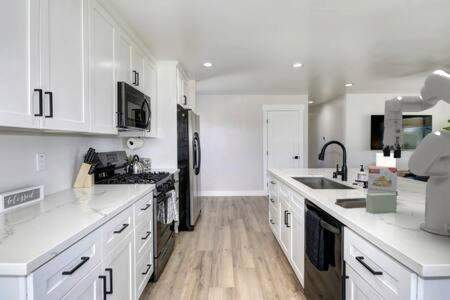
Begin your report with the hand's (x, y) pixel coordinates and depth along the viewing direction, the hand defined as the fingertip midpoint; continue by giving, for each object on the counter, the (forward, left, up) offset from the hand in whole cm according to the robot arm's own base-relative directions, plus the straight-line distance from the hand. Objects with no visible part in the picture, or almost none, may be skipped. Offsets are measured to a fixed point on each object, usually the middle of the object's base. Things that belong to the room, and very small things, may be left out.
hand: (391, 157), depth 129 cm
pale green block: (0, +5, -28) cm, 28 cm away
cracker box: (+17, -10, -28) cm, 34 cm away
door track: (+13, +10, -28) cm, 32 cm away
